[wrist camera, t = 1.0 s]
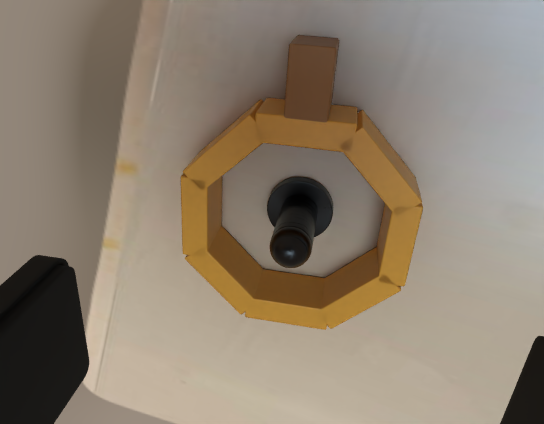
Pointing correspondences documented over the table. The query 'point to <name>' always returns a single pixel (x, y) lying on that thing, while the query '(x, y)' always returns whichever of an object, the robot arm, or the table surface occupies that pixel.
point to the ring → (310, 134)
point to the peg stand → (297, 219)
